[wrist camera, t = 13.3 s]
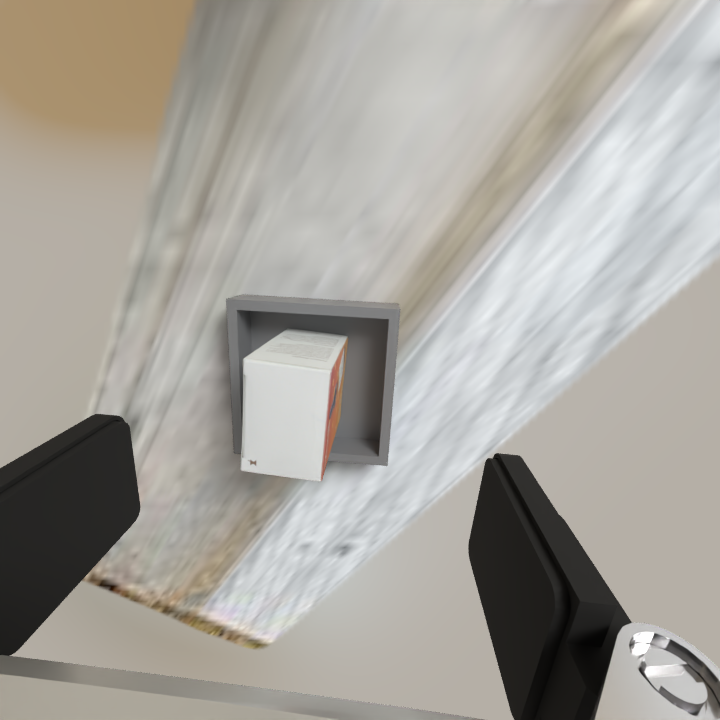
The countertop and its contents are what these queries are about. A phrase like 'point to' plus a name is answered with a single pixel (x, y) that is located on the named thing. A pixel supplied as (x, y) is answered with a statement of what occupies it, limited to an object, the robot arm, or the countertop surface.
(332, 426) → the small box
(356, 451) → the tray
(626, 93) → the countertop surface
